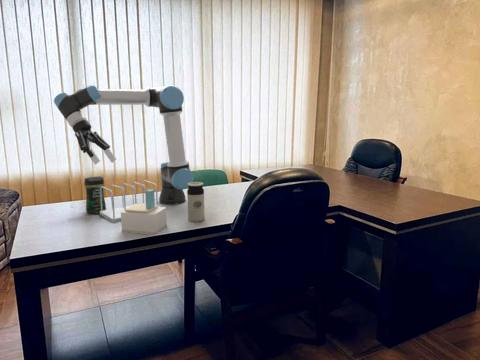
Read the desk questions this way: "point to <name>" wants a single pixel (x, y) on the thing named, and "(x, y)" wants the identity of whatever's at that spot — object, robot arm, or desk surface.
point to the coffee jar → (94, 194)
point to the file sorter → (115, 213)
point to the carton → (144, 221)
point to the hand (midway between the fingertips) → (106, 161)
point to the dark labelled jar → (195, 201)
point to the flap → (145, 207)
